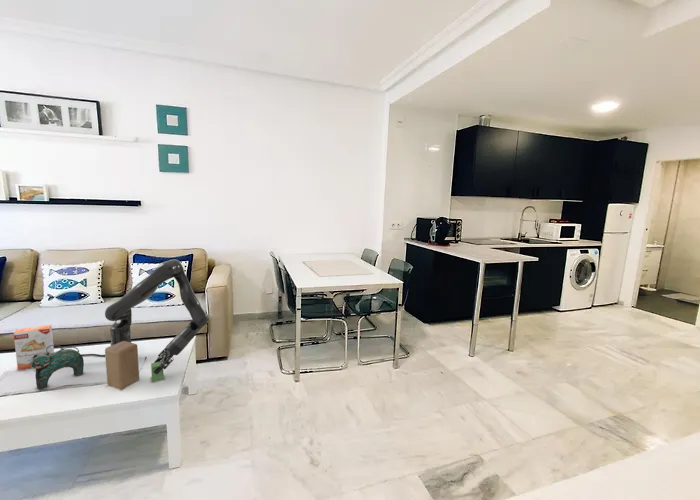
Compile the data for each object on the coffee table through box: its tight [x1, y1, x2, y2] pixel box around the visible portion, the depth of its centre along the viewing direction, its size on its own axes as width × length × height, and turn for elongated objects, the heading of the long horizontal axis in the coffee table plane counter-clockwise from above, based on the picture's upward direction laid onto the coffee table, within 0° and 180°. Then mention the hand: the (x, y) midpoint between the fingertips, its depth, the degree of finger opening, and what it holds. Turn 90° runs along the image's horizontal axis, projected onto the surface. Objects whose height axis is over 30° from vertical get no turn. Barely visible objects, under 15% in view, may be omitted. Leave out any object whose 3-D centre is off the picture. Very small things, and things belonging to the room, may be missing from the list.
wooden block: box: [104, 341, 140, 390], centre depth 164 cm, size 10×10×20 cm
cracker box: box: [13, 324, 55, 371], centre depth 176 cm, size 14×6×21 cm, turn 123°
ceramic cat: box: [30, 344, 85, 391], centre depth 163 cm, size 20×6×20 cm, turn 149°
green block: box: [150, 361, 165, 383], centre depth 170 cm, size 5×5×8 cm
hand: (154, 369), depth 170 cm, fingers open, 8 cm apart
